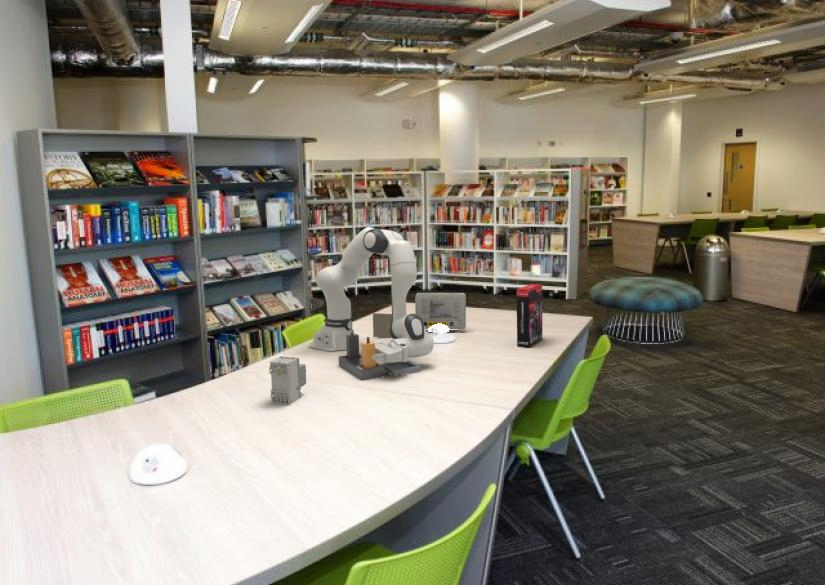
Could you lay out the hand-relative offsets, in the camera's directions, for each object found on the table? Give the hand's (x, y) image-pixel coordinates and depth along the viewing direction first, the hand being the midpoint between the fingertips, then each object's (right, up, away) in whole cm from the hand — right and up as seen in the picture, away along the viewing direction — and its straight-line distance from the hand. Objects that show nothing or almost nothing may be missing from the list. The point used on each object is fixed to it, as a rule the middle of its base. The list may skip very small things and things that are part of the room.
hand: (366, 354), depth 258 cm
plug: (+1, -7, +2) cm, 8 cm away
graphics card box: (+74, 0, +48) cm, 88 cm away
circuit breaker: (-26, -14, -22) cm, 37 cm away
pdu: (-3, -8, +9) cm, 12 cm away
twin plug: (-7, -5, +16) cm, 18 cm away
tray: (+13, -7, +9) cm, 17 cm away
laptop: (+9, +2, +67) cm, 67 cm away
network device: (+33, +4, +73) cm, 80 cm away
